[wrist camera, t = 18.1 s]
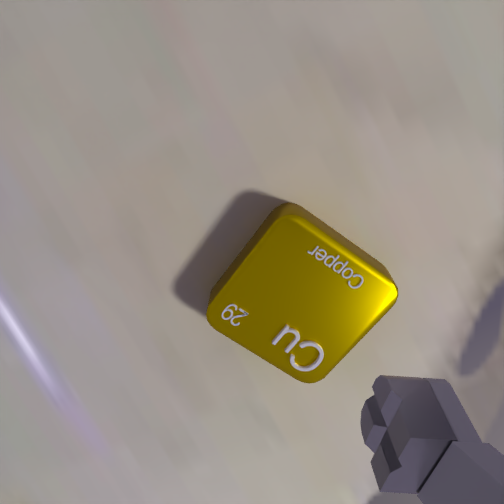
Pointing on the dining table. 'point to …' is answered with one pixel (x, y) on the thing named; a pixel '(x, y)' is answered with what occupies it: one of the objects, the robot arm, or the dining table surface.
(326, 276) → the element tile
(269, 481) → the dining table surface
